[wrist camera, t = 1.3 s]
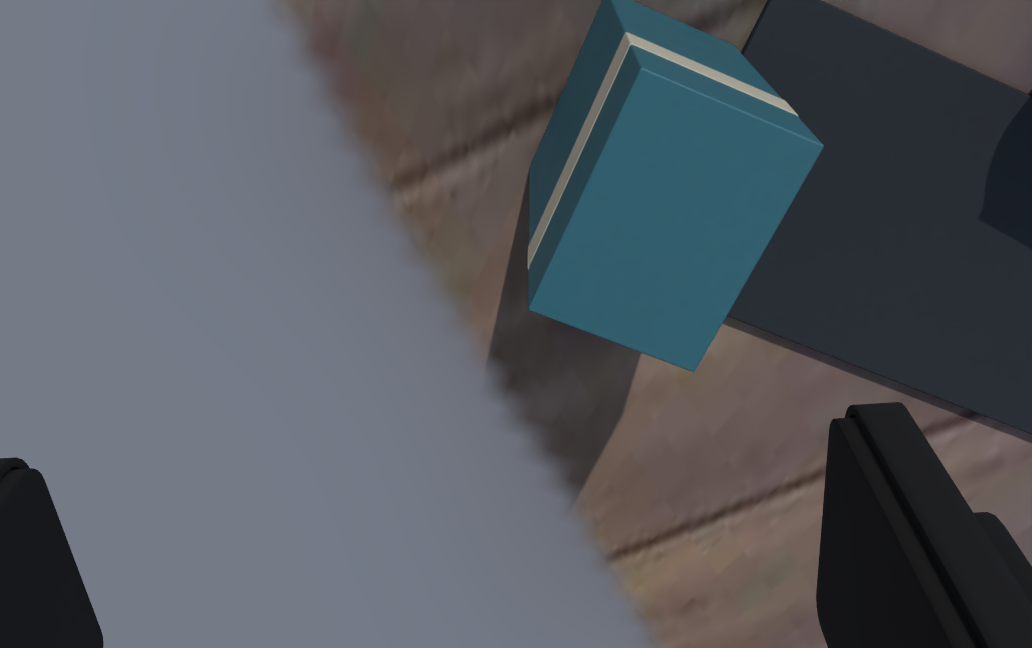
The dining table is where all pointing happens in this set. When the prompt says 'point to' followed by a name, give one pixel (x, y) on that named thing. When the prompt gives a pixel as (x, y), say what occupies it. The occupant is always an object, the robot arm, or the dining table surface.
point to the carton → (658, 184)
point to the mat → (900, 213)
